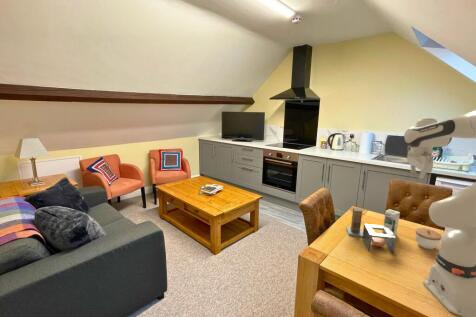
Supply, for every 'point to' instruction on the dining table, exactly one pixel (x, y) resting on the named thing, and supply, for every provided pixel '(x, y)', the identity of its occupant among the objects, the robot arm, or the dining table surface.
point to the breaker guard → (379, 236)
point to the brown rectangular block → (356, 220)
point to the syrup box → (391, 220)
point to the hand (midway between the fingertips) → (417, 175)
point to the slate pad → (354, 233)
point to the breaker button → (377, 241)
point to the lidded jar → (427, 238)
